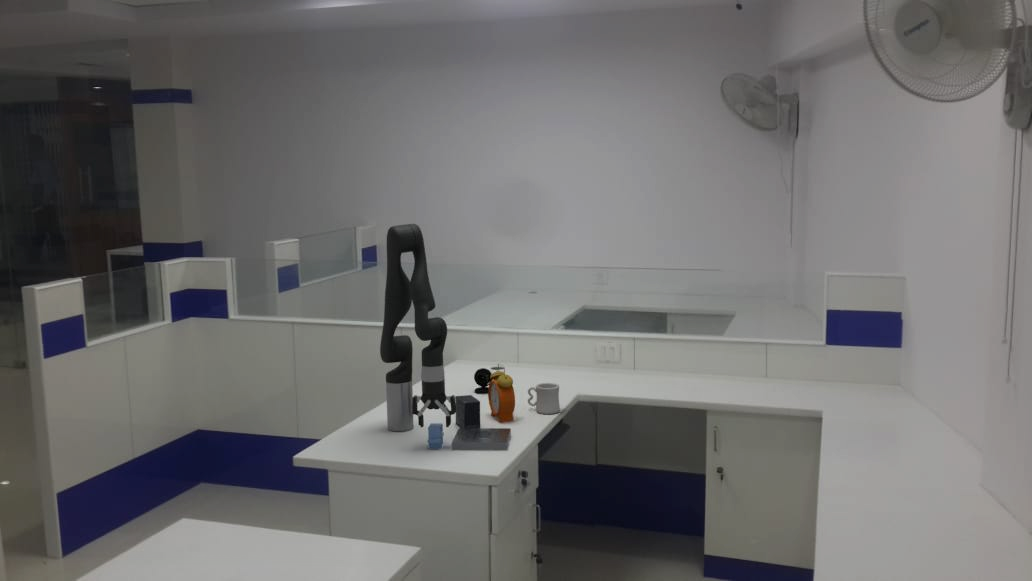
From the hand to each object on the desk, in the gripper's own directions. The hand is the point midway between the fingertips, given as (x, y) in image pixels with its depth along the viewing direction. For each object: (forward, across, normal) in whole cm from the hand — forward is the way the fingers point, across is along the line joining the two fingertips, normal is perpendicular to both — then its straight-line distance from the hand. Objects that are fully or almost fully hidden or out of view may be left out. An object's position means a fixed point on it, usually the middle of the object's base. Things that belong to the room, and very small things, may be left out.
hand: (434, 426), depth 285 cm
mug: (+6, -33, -44) cm, 56 cm away
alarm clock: (+6, -18, -34) cm, 39 cm away
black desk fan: (+6, -7, -73) cm, 73 cm away
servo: (+7, 0, -1) cm, 7 cm away
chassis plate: (+7, -15, -5) cm, 17 cm away
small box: (+7, -8, -23) cm, 25 cm away
